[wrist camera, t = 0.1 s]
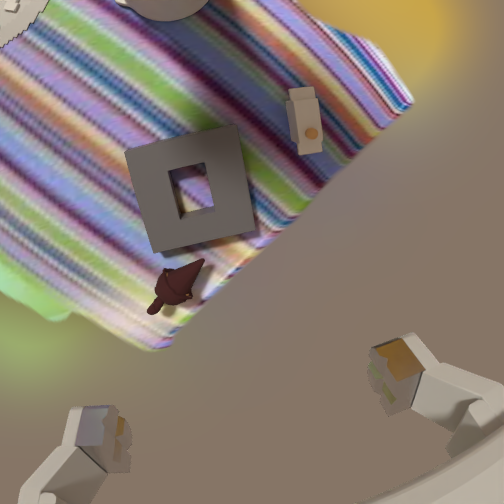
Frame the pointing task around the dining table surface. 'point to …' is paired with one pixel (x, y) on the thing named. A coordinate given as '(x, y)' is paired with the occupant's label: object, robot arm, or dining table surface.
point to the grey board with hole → (164, 197)
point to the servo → (304, 120)
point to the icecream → (175, 286)
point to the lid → (17, 17)
